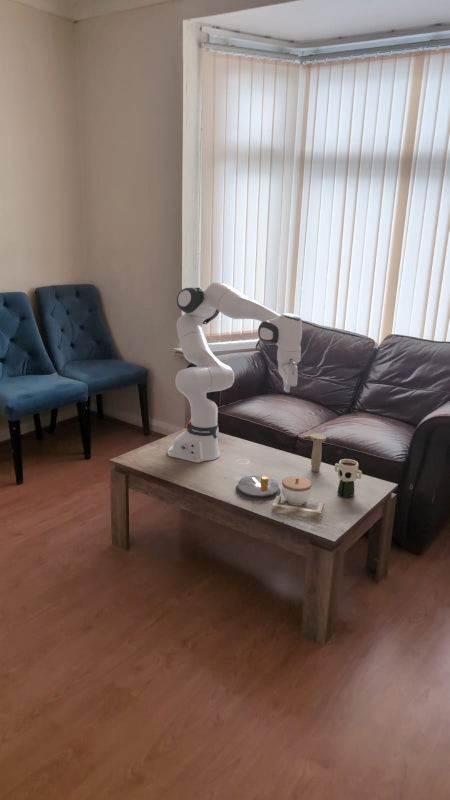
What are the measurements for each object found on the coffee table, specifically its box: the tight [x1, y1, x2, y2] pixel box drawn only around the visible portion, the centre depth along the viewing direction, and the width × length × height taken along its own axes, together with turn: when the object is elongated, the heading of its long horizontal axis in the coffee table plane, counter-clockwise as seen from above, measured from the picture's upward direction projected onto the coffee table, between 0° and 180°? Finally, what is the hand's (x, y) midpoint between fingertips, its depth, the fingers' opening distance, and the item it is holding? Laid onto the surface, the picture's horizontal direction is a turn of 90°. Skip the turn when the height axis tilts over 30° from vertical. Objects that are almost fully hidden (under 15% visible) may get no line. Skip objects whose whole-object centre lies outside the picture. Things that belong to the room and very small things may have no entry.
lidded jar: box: [281, 475, 313, 506], centre depth 223 cm, size 11×11×9 cm
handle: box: [309, 433, 327, 473], centre depth 249 cm, size 5×6×15 cm
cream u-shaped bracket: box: [271, 495, 325, 520], centre depth 218 cm, size 17×8×2 cm, turn 74°
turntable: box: [237, 475, 279, 498], centre depth 231 cm, size 15×15×7 cm
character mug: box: [334, 458, 363, 498], centre depth 230 cm, size 11×7×13 cm, turn 52°
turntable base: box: [235, 484, 282, 502], centre depth 232 cm, size 17×17×1 cm
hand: (286, 391), depth 239 cm, fingers closed
